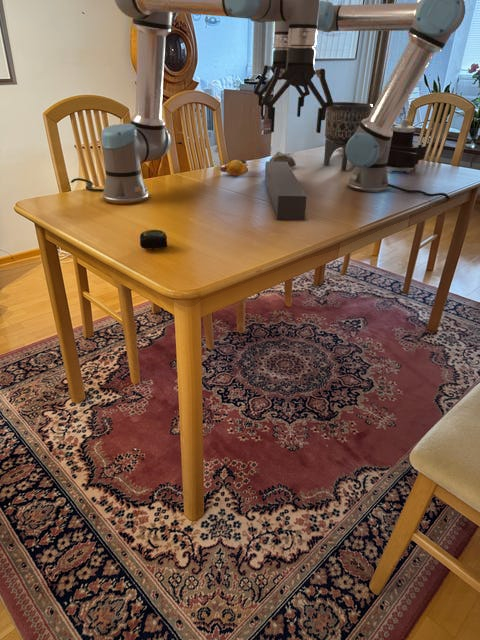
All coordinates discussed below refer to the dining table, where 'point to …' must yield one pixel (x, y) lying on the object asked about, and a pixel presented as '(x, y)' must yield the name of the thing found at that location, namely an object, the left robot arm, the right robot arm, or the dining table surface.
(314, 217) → the dining table surface
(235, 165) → the toy
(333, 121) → the planter
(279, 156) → the rock
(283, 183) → the long gray bar
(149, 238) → the tape measure
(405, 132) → the mechanical component
